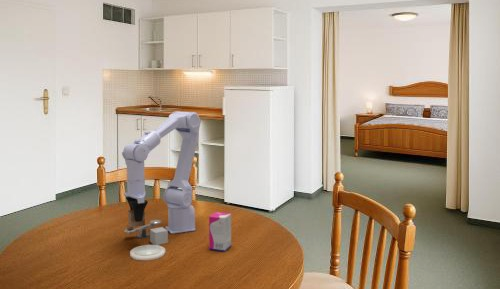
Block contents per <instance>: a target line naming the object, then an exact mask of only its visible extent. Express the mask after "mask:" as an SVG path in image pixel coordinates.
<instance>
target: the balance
mask: <svg viewBox="0 0 500 289" xmlns="http://www.w3.org/2000/svg"><path fill="white" fill-rule="evenodd" d="M160 224H162V220H161V219H152V220H150V221H149V223H148V224H145V225H144V226H138V227H136V228H135V227H131V226H130V224H127V225H126V229H124V233H125V234H130V235H131V234H135V233H137V232H138V234H136V236H135V237H136V238H137V239H138V240H140V239H146V238H150V232H147V229H148V228H149V229H150V228H151V227H152V228H153V227H155V226H158V225H160ZM139 232H140V233H139Z"/></svg>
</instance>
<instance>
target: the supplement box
mask: <svg viewBox="0 0 500 289" xmlns="http://www.w3.org/2000/svg"><path fill="white" fill-rule="evenodd" d="M208 222H209V223H208V228H209V229H208V232H209V233H208V241H209V242H208V243H209V244H208V247H209V248H208V249H209V251H217V252H221V253H222V252H223V253H225V252H227V251H228V250H229V249H230V248H231V247H232V214H231V213H227V212H218V211H217V212H216V211H215V212H214V213H212V214H211V215H209V216H208Z"/></svg>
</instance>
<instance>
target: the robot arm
mask: <svg viewBox="0 0 500 289" xmlns="http://www.w3.org/2000/svg"><path fill="white" fill-rule="evenodd" d="M201 122H202V120H201V118H200V115H199V114H198V113H197V112H196V111H178V110H174V111H173V112H172V113H171V114H169V115H168V118H167V119H166V120H165V121H163V123H161V124H160V125H159V126H158V127H157V128H156V129H155V130H145V132H144V134H142V135H141V136H140V137H139V138H135V140H134V141H133V142H131V143H127V144H126V145H125V146H124V148H123V151H122V152H121V155H122V158H123V159H124V160H125V162H124V163H125V166H126V186H127V187H126V188H127V192H124V193H123V196H125V199H126V201H127V202H128V205H129V210H133V212H134V218H135V221H136V222H139V221H142V219H143V215H144V212H145V210H146V208H147V205H148V200H147V199H145V196H146V194H147V192H146V180H145V176H146V175H145V172H146V171H145V161H146V160H147V158H148V157H149V154H150V152H152V151H153V150H154V149H156V147H158V145H160V144H161V139H162V138H164V137H166V136H167V135H168V134H170V133H171V132H173V131H174V130H175V131H177V133H178V134H180V136H181V137H182V141H181V147H180V150H179V156H178V158H177V164H176V168H175V171H174V172H175V173H174V176H173V179H172V180H170V181H169V182H168V183H167V186H166V189H165V191H164V192H163V201H164V202H165V204H166V206H167V208H168V209H167V210H168V211H167V212H168V215H167V216H168V225H167V226H165V228H164V229H166V230H168V232H169V234H179V233H187V232H193V231H196V212H195V211H196V210H195V208H194V206H193V205H192V204H191V203H192V201H193V189H194V188H193V186H192V185H191V184H190V182H189V180H190V177H191V172H192V168H193V164H194V158H195V153H196V149H197V144H198V140H199V131H200V127H201Z"/></svg>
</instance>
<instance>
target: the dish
mask: <svg viewBox="0 0 500 289" xmlns="http://www.w3.org/2000/svg"><path fill="white" fill-rule="evenodd" d="M165 255H166V248H165V247H163V246H161V245H154V244H144V245H140V246H138V245H137V246H136V247H133V248H132V249H131V250H130V251H129V256H130V258H131V259H133V260H136V261H140V262H141V261H144V262H145V261H153V260H157V259H160V258H162V257H164V256H165Z"/></svg>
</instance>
